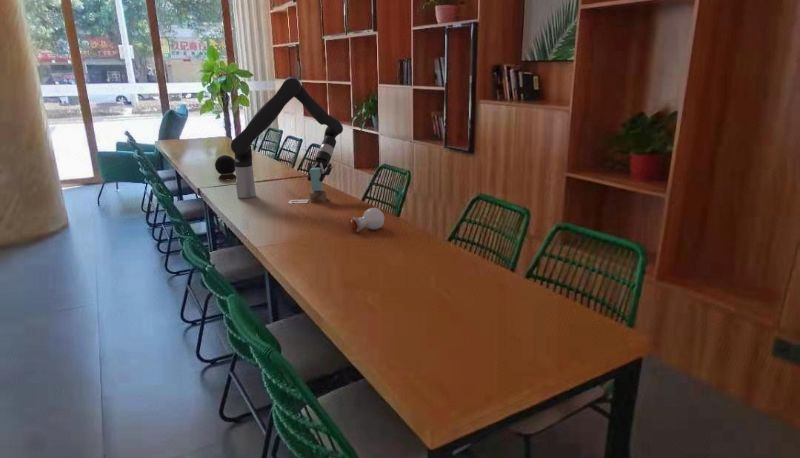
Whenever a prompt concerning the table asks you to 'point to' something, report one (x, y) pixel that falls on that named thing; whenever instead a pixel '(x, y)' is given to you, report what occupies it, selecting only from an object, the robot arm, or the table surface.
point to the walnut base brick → (317, 195)
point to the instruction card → (298, 201)
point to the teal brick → (315, 178)
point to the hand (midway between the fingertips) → (314, 180)
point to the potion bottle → (368, 220)
